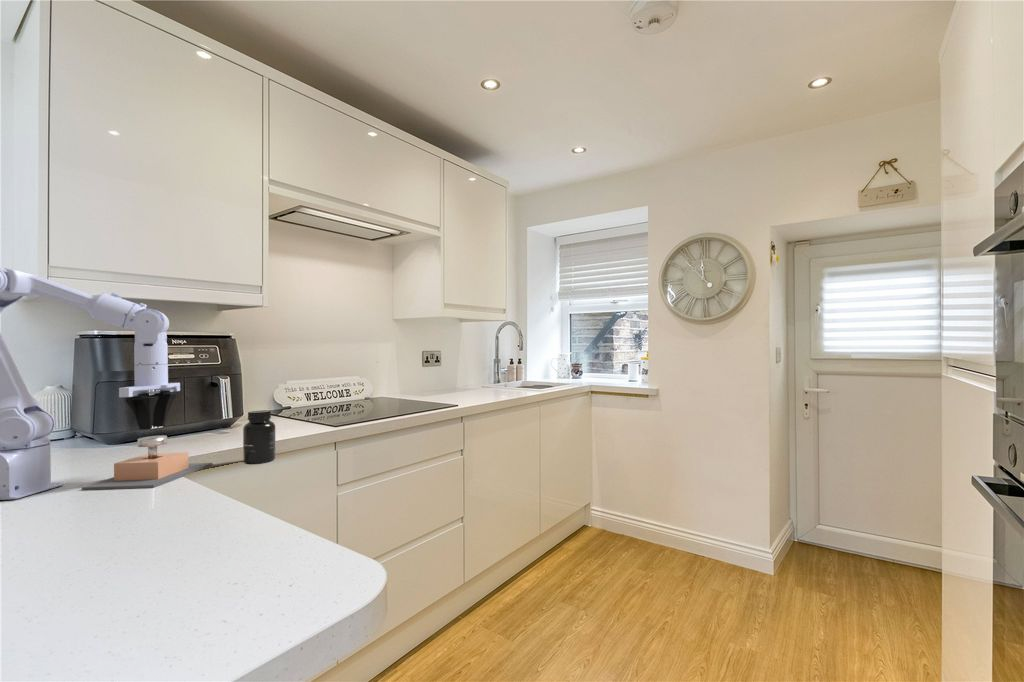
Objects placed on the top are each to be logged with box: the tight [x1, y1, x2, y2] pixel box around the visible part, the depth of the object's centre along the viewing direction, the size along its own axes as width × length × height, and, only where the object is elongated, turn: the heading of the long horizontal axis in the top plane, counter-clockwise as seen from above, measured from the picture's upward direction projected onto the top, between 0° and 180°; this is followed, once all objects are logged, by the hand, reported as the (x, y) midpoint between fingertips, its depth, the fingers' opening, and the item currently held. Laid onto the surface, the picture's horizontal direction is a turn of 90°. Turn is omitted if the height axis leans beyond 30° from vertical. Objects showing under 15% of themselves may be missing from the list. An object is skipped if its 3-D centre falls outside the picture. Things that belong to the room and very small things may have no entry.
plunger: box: [137, 434, 168, 459], centre depth 99 cm, size 5×5×5 cm
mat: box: [81, 462, 214, 491], centre depth 99 cm, size 18×14×1 cm
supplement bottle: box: [242, 409, 277, 465], centre depth 111 cm, size 7×7×12 cm
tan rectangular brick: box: [113, 451, 190, 481], centre depth 99 cm, size 9×9×4 cm
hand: (152, 427), depth 99 cm, fingers open, 3 cm apart
